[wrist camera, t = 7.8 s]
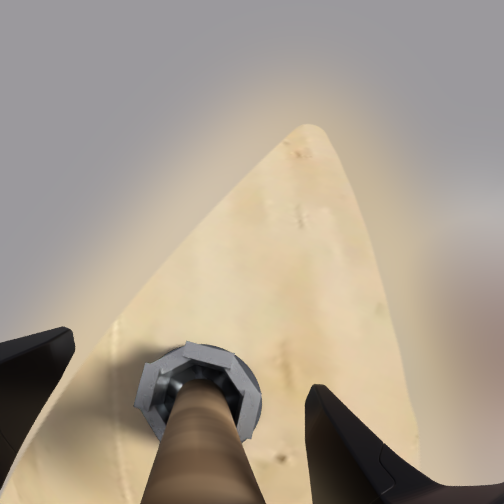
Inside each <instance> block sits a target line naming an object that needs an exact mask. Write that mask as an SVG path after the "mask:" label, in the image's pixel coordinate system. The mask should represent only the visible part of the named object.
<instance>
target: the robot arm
mask: <svg viewBox="0 0 504 504" xmlns="http://www.w3.org/2000/svg"><path fill="white" fill-rule="evenodd" d="M74 352H75V343H74V337H73V332H72V330H71V329H69V328H66V327H59V328H55V329H51V330H47V331H44V332H41V333H36V334H32V335H29V336H25V337H21V338H17V339H13V340H10V341H5V342H2V343H0V490H1V488H2V486H3V483H4V481H5V479H6V477H7V474H8V472H9V470H10V467H11V466H12V464H13V462H14V459H15V457H16V455H17V453H18V451H19V449H20V447H21V446H22V444H23V442H24V440H25V438H26V436H27V434H28V433H29V431H30V429H31V427H32V425H33V424H34V422H35V420H36V418H37V417H38V415H39V413H40V412H41V410H42V408H43V406H44V405H45V403H46V402H47V400H48V398H49V397H50V395H51V394H52V392H53V390H54V389H55V387H56V386H57V384H58V382H59V381H60V379H61V377H62V375H63V373H64V371H65V369H66V367H67V365H68V364H69V362H70V360H71V358H72V356H73V354H74ZM305 444H306V452H307V460H308V468H309V476H310V484H311V493H312V502H313V504H504V482H503V483H500V484H493V485H481V486H445V485H442V484H439V483H437V482H435V481H433V480H431V479H430V478H428V477H427V476H426V475H424V474H423V473H421V472H420V471H418V470H417V469H415V468H414V467H413V466H411V465H410V464H408V463H407V462H406V461H405V460H403V459H402V458H401V457H399V456H398V455H397V454H396V453H395V452H394V451H393V450H391V449H390V448H389V447H388V446H387V445H386V444H385V443H383V441H382V440H380V439H379V438H378V437H377V436H376V435H375V434H374V433H373V432H372V431H371V430H370V429H369V428H368V427H367V426H366V425H365V424H364V423H363V422H362V421H361V420H360V419H359V418H358V417H356V416H355V415H354V414H353V413H352V412H351V411H350V410H349V409H348V408H347V407H346V406H345V405H344V404H343V403H342V402H341V401H340V400H339V399H338V398H337V397H336V396H335V395H334V394H333V393H332V392H331V391H330V390H329V389H328V388H327V387H326V386H325V385H322V384H314V385H312V387H311V389H310V391H309V394H308V396H307V398H306V401H305Z"/></svg>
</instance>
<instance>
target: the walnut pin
mask: <svg viewBox="0 0 504 504" xmlns="http://www.w3.org/2000/svg"><path fill="white" fill-rule="evenodd" d="M140 504H266V503H265V500H264V498H263V496H262V493H261V491H260V489H259V486H258V484H257V482H256V479H255V477H254V474H253V472H252V469H251V467H250V464H249V462H248V459H247V456H246V454H245V451H244V448H243V446H242V443H241V440H240V438H239V435H238V432H237V429H236V426H235V424H234V421H233V418H232V415H231V412H230V409H229V406H228V403H227V400H226V397H225V394H224V392H223V390H222V389H221V388H220V387H219V386H218V385H217V384H216V383H214V382H212V381H210V380H207V379H193V380H190V381H188V382H186V383H185V384H184V385H183V386H182V387H181V388H180V389H179V391H178V394H177V397H176V399H175V402H174V405H173V408H172V411H171V414H170V416H169V419H168V422H167V425H166V428H165V431H164V434H163V437H162V440H161V443H160V445H159V448H158V451H157V454H156V457H155V460H154V463H153V466H152V469H151V472H150V475H149V478H148V482H147V485H146V488H145V491H144V494H143V497H142V500H141V503H140Z"/></svg>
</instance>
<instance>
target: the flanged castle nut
mask: <svg viewBox="0 0 504 504" xmlns="http://www.w3.org/2000/svg"><path fill="white" fill-rule="evenodd" d="M234 354H235V353H231V352H229V351H227V350H225V349H223V348H219V347H216V346H212V345H205V344H196V343H192V342H189V341H186V344H185V346H183V347H179V348H177V349H174V350H172V351H170V352H169V353H167V354H165V355H164V356H163V357H162V358H160V359H159V360H157V361H155V362H153V363H151V364H149V363H146V362H145V366H144V369H143V373H142V376H141V380H140V384H139V387H138V391H137V395H136V398H135V402H134V407H136V408H139V409H140V410H141V412H142V413H143V415H144V417H145V418H146V420H147V422H148V423H149V425H150V427H151V428H152V430H153V432H154V433H155V435H156V436H157V438H158V439H159V441H160V443H161V440H162V437H163V434H164V431H165V428H166V425H167V422H168V419H169V416H170V414H171V411H172V408H173V405H174V402H175V399H176V397H177V394H178V391H179V389H180V388H181V387H182V386H183V385H184V384H185V383H186V382H188V381H190V380H193V379H207V380H210V381H212V382H214V383H216V384H217V385H218V386H219V387H220V388H221V389H222V390H223V392H224V394H225V397H226V400H227V403H228V406H229V409H230V412H231V415H232V418H233V421H234V424H235V426H236V429H237V432H238V435H239V438H240V440H241V443H243V442H244V441H245V440H246V439H251V438H252V434H253V431H254V429H255V428H256V425H257V423H258V421H259V418H260V415H261V409H262V397H261V394H262V393H261V391H260V387H259V384H258V382H257V379H256V377H255V376H254V374H253V372H252V371H251V370H250V368H249V367H248V366H247V365H246V364H245V363H244V362H243V361H242V360H241V359H240V358H238V357H237V356H236V355H234ZM159 445H160V444H159Z"/></svg>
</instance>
